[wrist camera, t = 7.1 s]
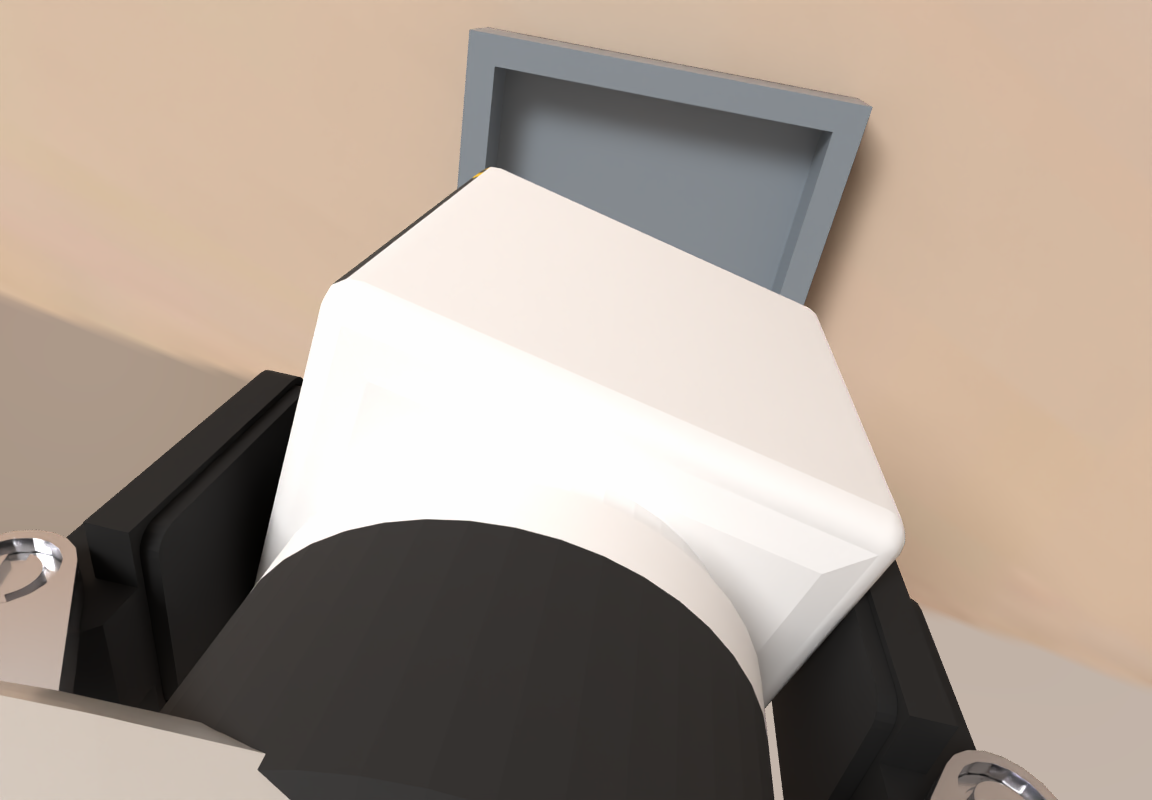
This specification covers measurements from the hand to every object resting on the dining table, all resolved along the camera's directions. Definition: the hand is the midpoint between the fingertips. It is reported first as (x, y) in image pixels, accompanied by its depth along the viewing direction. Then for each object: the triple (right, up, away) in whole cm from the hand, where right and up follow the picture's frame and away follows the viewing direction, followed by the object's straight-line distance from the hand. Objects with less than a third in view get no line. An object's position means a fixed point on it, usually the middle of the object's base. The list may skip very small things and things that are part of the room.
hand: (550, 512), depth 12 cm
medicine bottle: (+1, +2, +4) cm, 5 cm away
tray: (+3, +8, +19) cm, 21 cm away
